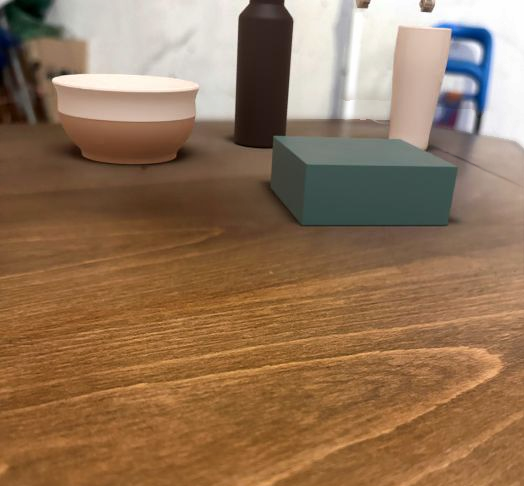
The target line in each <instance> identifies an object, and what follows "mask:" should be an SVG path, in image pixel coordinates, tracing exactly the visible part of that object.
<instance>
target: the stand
mask: <svg viewBox="0 0 524 486" xmlns="http://www.w3.org/2000/svg"><path fill="white" fill-rule="evenodd" d="M458 171H459V166H458V165H455V164H453V163H451V162H449V161H447V160H445V159H443V158H441V157H439V156H436V155H435V154H432V153H430V152H428V151H427V150H425V151H424V150H422V149H420V148H418V147H416V146H414V145H412V144H409V143H407V142H405V141H403V140H401V139H388V138H375V137H374V138H371V137H370V138H369V137H333V136H332V137H330V136H297V135H295V136H292V135H286V136H273V148H272V154H271V172H270V185H269V186H270V189H271V191H273V193H274V194H275V195H276V197H277V198H278V199H279V200H280V201H281V202H282V204H283V205H284V206H285V207H286V209H288V211H289V212H290V213H291V214H292V216H293V217H294V218H295V219H296V220H297V222H298V223H299V224H300V225H301V226H448V225H449V220H450V219H449V218H450V214H451V208H452V203H453V197H454V192H455V186H456V181H457V176H458Z"/></svg>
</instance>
